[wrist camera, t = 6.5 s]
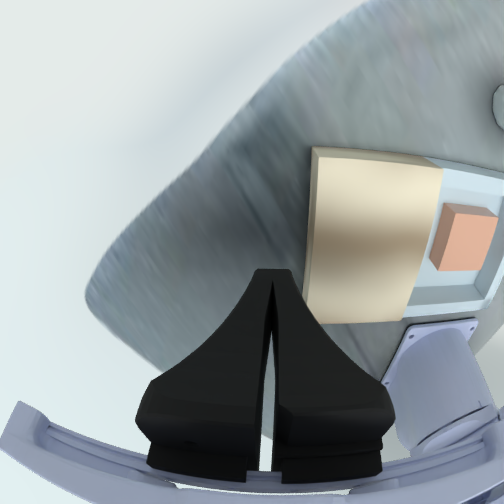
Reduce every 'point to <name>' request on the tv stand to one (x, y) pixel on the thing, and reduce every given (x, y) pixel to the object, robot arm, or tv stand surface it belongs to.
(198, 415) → the robot arm
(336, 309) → the beige wooden block
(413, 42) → the tv stand surface
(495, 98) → the milkshake
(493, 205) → the box
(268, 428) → the tv stand surface
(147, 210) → the tv stand surface
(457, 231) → the tile
